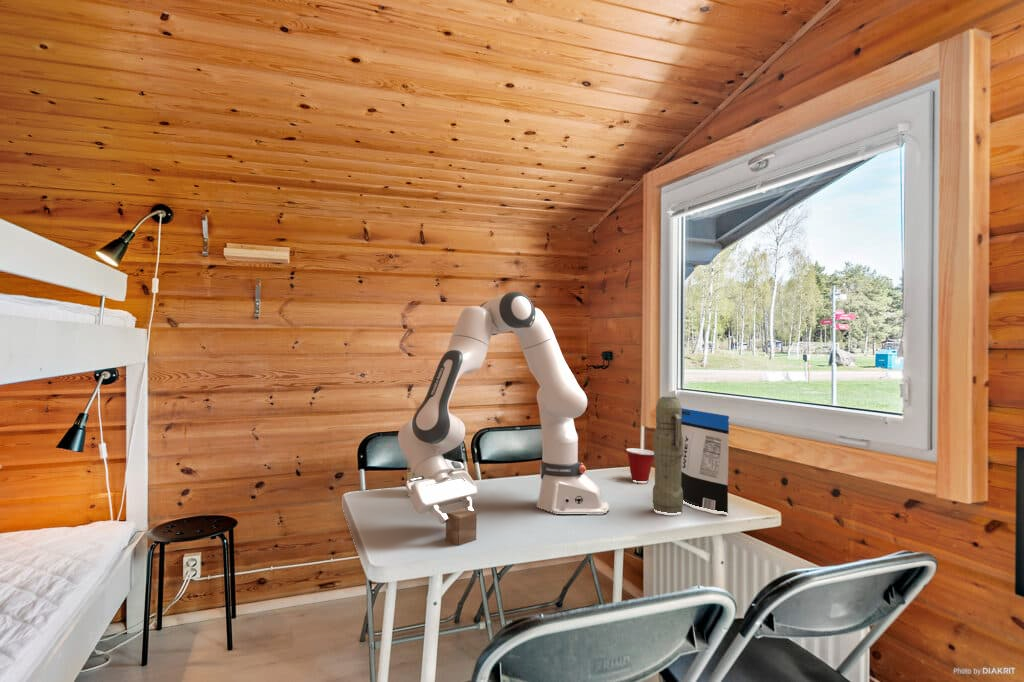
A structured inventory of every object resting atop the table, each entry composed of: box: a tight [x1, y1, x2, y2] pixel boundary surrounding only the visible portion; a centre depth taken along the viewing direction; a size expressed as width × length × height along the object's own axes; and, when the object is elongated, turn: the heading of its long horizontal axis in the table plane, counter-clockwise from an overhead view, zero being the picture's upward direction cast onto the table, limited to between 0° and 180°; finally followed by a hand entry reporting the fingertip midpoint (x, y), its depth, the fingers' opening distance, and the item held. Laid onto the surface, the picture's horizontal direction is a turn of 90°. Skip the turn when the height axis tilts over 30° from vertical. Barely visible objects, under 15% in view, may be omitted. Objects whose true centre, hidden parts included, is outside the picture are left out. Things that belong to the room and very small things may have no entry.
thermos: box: [652, 396, 684, 513], centre depth 180 cm, size 9×12×35 cm
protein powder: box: [681, 407, 730, 514], centre depth 188 cm, size 10×24×30 cm, turn 20°
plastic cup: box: [626, 447, 655, 481], centre depth 219 cm, size 11×11×12 cm
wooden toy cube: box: [445, 507, 478, 546], centre depth 151 cm, size 5×6×7 cm
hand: (458, 518), depth 151 cm, fingers open, 8 cm apart
